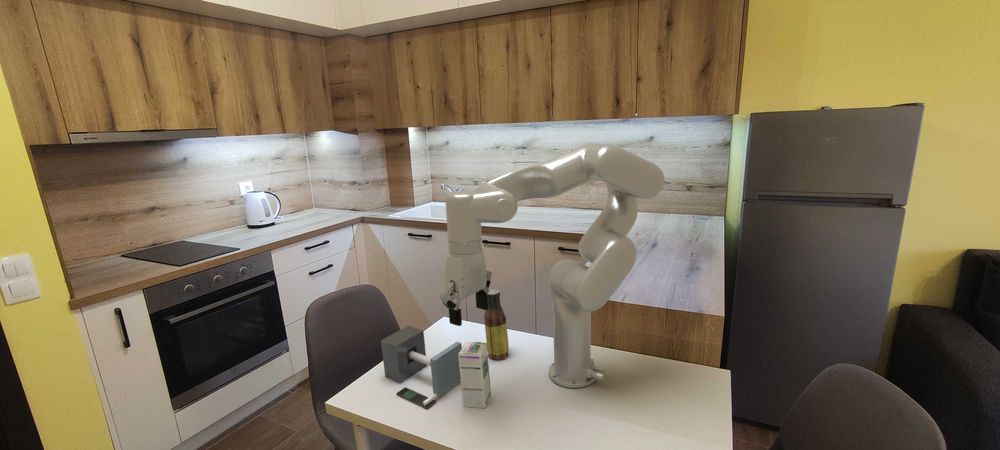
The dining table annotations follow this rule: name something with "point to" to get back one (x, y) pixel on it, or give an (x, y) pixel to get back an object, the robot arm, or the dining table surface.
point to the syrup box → (474, 374)
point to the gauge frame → (404, 361)
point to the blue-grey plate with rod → (441, 368)
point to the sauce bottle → (496, 327)
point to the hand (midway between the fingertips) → (469, 316)
